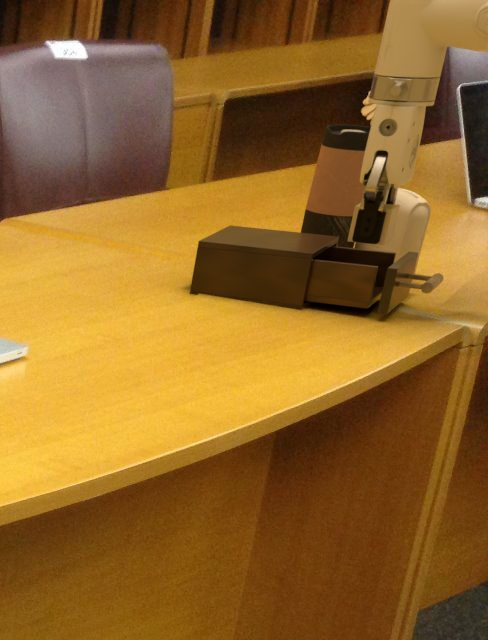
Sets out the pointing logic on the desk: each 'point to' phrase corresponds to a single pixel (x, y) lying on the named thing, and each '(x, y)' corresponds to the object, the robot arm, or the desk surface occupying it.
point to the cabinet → (258, 265)
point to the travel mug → (336, 183)
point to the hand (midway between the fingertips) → (370, 238)
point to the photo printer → (406, 226)
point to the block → (387, 226)
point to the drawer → (365, 278)
